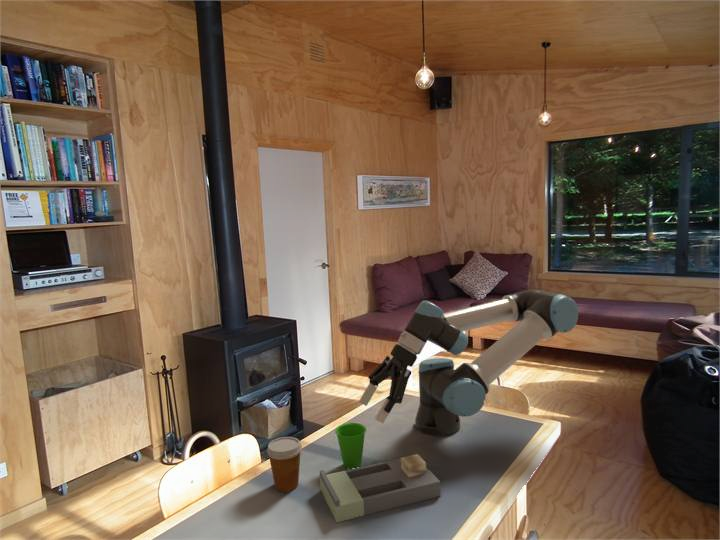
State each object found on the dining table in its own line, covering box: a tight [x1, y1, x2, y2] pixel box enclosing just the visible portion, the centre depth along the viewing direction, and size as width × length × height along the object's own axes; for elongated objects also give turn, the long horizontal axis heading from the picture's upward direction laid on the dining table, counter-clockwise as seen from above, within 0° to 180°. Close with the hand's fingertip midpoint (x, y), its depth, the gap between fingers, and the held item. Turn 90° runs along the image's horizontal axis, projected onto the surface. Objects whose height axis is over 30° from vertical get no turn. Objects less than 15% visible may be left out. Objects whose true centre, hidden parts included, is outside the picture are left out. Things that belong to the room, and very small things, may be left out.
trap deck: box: [319, 457, 441, 523], centre depth 130 cm, size 28×15×6 cm, turn 109°
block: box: [400, 453, 427, 477], centre depth 133 cm, size 5×5×3 cm
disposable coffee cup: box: [266, 436, 303, 493], centre depth 136 cm, size 10×10×12 cm
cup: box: [334, 422, 367, 470], centre depth 145 cm, size 9×9×11 cm
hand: (370, 412), depth 145 cm, fingers open, 13 cm apart
